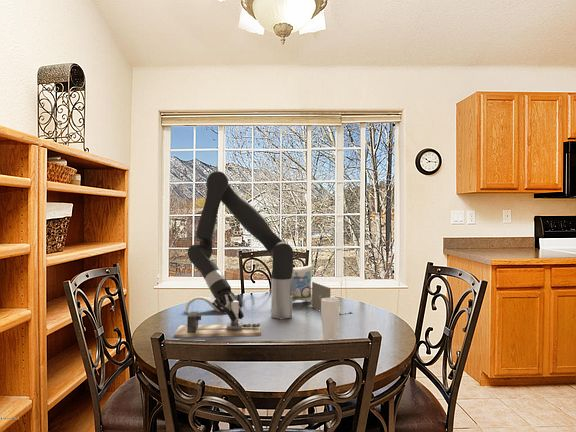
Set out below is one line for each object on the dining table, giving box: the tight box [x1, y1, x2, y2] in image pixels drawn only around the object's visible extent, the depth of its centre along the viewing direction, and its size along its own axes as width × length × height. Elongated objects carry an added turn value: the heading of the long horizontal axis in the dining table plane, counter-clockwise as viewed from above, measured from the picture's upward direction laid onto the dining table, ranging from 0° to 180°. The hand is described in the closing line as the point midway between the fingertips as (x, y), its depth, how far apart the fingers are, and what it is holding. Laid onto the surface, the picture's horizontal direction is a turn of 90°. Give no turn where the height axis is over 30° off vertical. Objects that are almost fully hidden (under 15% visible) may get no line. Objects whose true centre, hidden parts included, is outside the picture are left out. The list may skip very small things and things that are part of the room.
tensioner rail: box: [173, 310, 262, 338], centre depth 153 cm, size 32×12×7 cm, turn 95°
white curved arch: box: [184, 295, 223, 314], centre depth 185 cm, size 24×12×7 cm, turn 103°
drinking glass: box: [320, 297, 341, 341], centre depth 143 cm, size 7×7×15 cm
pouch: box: [292, 263, 314, 302], centre depth 203 cm, size 8×19×20 cm, turn 114°
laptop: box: [311, 281, 342, 312], centre depth 188 cm, size 18×12×13 cm
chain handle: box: [226, 301, 261, 330], centre depth 154 cm, size 13×5×10 cm, turn 95°
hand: (238, 318), depth 152 cm, fingers closed on chain handle, 3 cm apart
